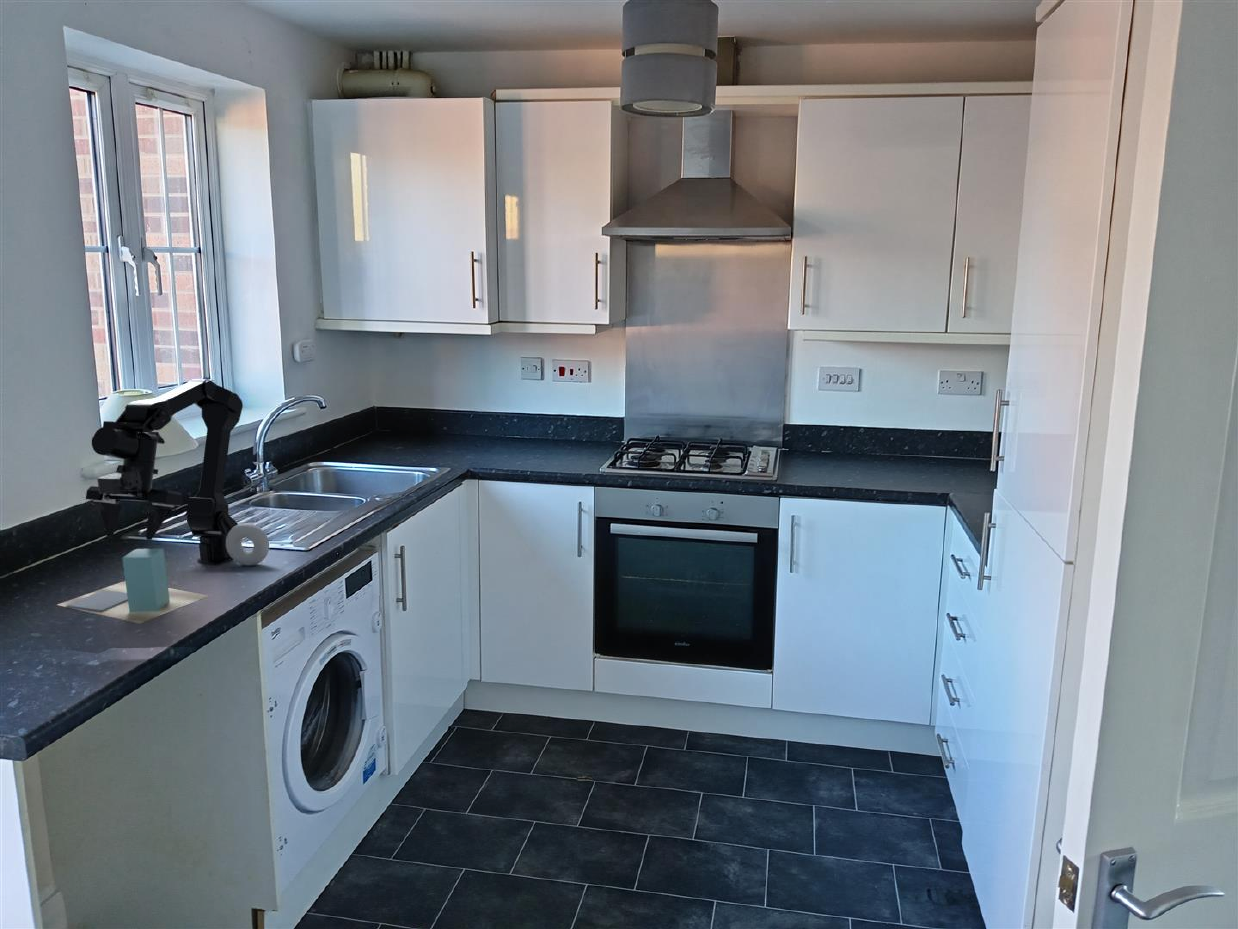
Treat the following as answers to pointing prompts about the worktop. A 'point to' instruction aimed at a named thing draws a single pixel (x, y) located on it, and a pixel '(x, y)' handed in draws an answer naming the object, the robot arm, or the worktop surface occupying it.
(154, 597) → the tall teal block
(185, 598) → the board
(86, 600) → the coaster
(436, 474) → the worktop surface
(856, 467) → the worktop surface
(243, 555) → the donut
